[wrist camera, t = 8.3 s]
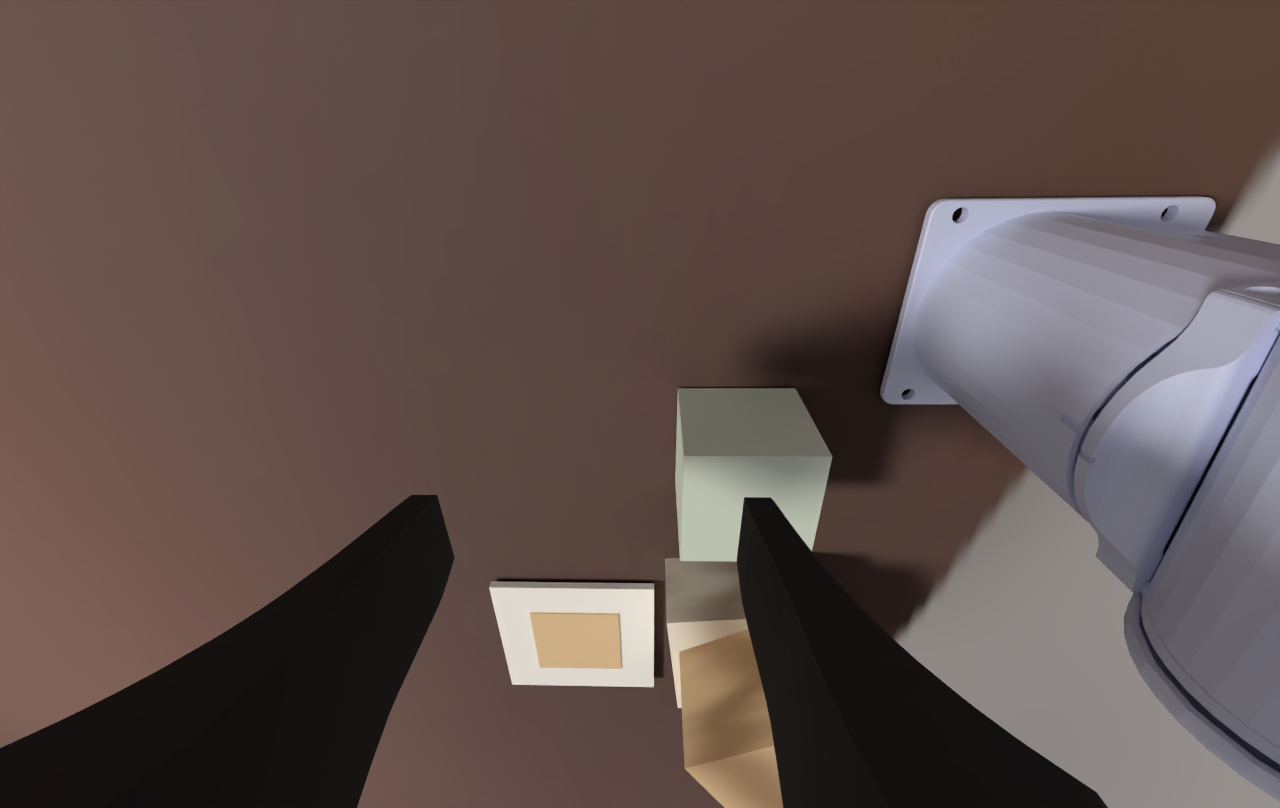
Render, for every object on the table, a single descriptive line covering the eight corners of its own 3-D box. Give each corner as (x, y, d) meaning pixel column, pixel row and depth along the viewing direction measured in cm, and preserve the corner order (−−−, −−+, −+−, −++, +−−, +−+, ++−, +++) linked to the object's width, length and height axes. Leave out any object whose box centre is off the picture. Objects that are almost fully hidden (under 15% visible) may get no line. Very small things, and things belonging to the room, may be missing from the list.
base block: (797, 549, 26) (820, 615, 22) (792, 634, 29) (811, 702, 26) (664, 557, 26) (666, 623, 23) (674, 639, 30) (677, 707, 26)
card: (654, 583, 27) (654, 590, 26) (653, 680, 31) (653, 688, 31) (491, 581, 27) (488, 589, 27) (513, 678, 32) (512, 686, 31)
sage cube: (795, 388, 21) (832, 456, 17) (780, 481, 23) (809, 562, 19) (677, 388, 21) (684, 456, 17) (675, 480, 24) (679, 560, 19)
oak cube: (775, 620, 23) (804, 738, 18) (813, 677, 25) (847, 795, 20) (678, 651, 24) (684, 768, 20) (723, 703, 26) (737, 819, 22)
